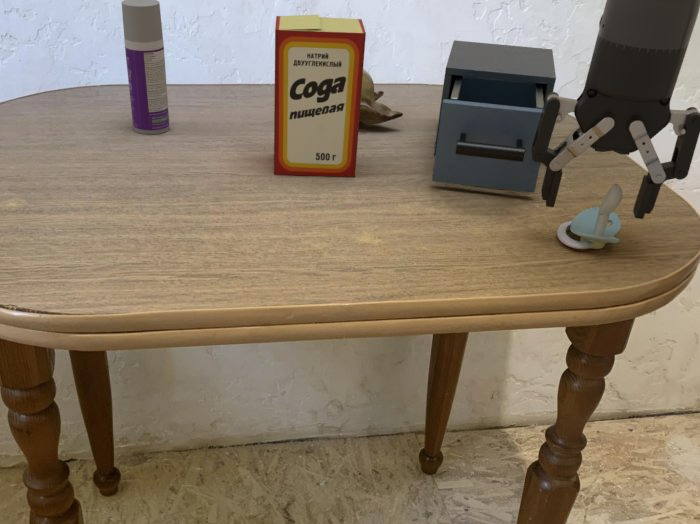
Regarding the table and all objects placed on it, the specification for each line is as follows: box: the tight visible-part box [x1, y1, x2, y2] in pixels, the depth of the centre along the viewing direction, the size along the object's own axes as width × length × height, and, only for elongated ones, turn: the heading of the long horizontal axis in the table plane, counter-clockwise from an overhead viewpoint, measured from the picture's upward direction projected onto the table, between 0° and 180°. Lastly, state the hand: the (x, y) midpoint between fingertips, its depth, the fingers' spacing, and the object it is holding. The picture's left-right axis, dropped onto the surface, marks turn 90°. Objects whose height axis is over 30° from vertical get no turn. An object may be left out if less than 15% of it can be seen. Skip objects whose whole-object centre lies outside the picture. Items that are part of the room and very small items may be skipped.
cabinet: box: [433, 39, 557, 157], centre depth 98 cm, size 14×13×11 cm
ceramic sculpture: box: [359, 68, 404, 125], centre depth 103 cm, size 11×9×15 cm
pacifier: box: [556, 183, 623, 250], centre depth 77 cm, size 7×6×6 cm
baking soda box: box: [273, 14, 367, 178], centre depth 88 cm, size 10×6×16 cm
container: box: [121, 0, 170, 135], centre depth 96 cm, size 5×5×15 cm
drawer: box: [431, 75, 544, 194], centre depth 87 cm, size 17×11×9 cm
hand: (593, 209), depth 77 cm, fingers open, 8 cm apart
